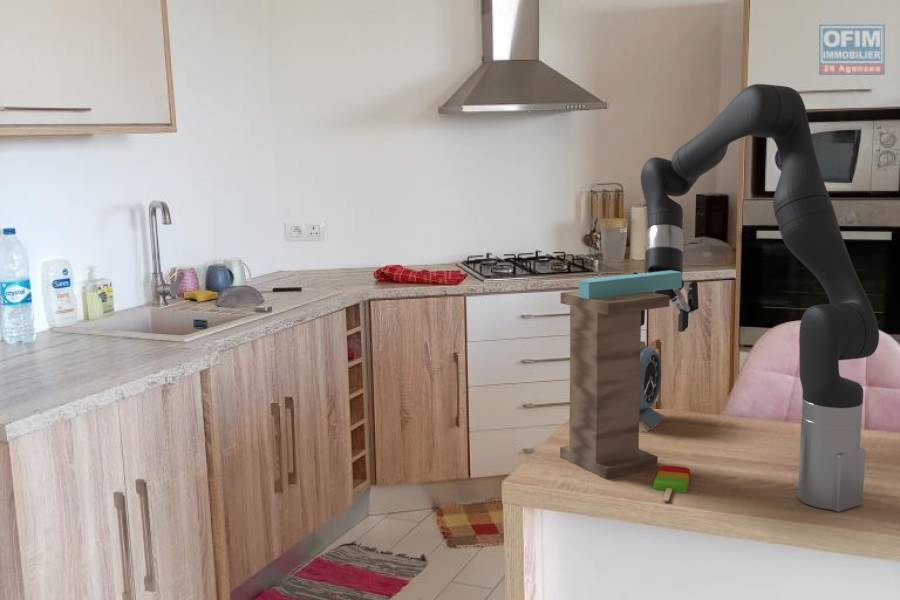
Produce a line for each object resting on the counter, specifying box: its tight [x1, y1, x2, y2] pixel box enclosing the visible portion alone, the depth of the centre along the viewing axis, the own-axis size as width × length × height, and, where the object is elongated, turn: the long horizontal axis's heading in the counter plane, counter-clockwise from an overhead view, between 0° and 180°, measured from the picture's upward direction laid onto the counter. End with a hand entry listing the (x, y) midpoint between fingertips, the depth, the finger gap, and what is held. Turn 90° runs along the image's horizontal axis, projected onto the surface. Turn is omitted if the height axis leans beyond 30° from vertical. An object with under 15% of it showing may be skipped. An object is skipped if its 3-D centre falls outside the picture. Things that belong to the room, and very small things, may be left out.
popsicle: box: [653, 464, 691, 503], centre depth 163 cm, size 6×15×2 cm, turn 160°
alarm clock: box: [639, 340, 667, 433], centre depth 199 cm, size 14×10×18 cm
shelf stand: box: [559, 290, 670, 480], centre depth 174 cm, size 14×14×32 cm
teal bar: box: [578, 270, 683, 299], centre depth 173 cm, size 3×22×3 cm, turn 119°
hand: (661, 328), depth 185 cm, fingers open, 8 cm apart
